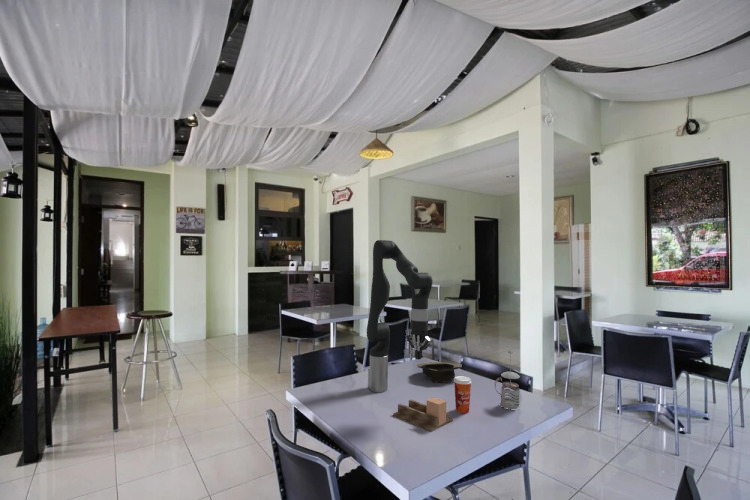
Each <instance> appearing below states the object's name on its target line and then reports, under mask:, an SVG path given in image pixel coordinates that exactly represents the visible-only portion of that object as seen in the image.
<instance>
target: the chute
mask: <svg viewBox="0 0 750 500" xmlns="http://www.w3.org/2000/svg"><path fill="white" fill-rule="evenodd" d="M392 414H393V415H392V416H393V417H396V418H398V419H400V420H402V421H405V422H408V423H410V424H413V425H415V426H417V427H420V428H422V429H424V430H426V431H429V432H434V431H436V430H437V429H440V428H442V427H444V426H445V425H448V424H450V423H452V422H453V420H454V419H453V418H451V417H449V412H447V411H446V422H444V423H442V424H440V425H438V418H437V417H434V416H431V415H429V414H427V404H425V403H421V402H419V401H416V400H414V399H408V406H407V405H405V404H402V403H398V404H397V411H396V412H394V413H392Z"/></svg>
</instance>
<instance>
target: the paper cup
mask: <svg viewBox="0 0 750 500" xmlns="http://www.w3.org/2000/svg"><path fill="white" fill-rule="evenodd" d="M453 382H454V398H455V399H454V400H455V411H456V413H459V414H468V413H469V412H470V407H471V406H470V405H471V404H470V403H471V389H472V388H471V387H472V379H471V378H470V377H468V376H463V375H460V376H459V375H458V376H455V377H454V379H453Z"/></svg>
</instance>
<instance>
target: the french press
mask: <svg viewBox="0 0 750 500" xmlns="http://www.w3.org/2000/svg"><path fill="white" fill-rule="evenodd" d="M507 353H508V354H509V371H504V372H502V373H501V374H500V375H501V377H497V378H496V379H495V382H494V389H495V391H496V393H497V394H499V395H500V403H499V404H500V406H502V407H504V408H508V409H517V408H520V406H521V405H520V389H521V388H519V384H518V383H516V382H512V380H519V379H520V377H521V376H520V375H519V374H518V373H516V372H513V371H511V370H512V369H511V367H512V366H511V362H512V361H511V360H512V359H511V356H512V355H511V354H513V350H510V349H509V350H508V352H507ZM502 378H504V379H509V381H504V382H503V379H502ZM498 381H501V382H502V384H501V385H502V386H501V392H500V391H498V390H497V387H496V386H497V383H498ZM500 406H499V407H500Z"/></svg>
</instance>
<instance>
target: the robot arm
mask: <svg viewBox="0 0 750 500" xmlns="http://www.w3.org/2000/svg"><path fill="white" fill-rule="evenodd" d="M386 259H387V260H393V261H395V267H396V269H397V271H398V272H399V273H400V274H401V275H402V277H404V278H405V281H406V282H407V285H408V286H409V288H411V289H413V290H419V291H418V293H416V294H413V295H412V297H411V309H410V311H411V312H410V334H408V335H406V339H407V341H408V344H409V345H410V347H411V349H414V357H415V360H422V358H423V351H425V350H427V348H428V347H429V346H430V345H431V344H432V343H433V340H432V339H430V338H429V335H428V330H429V297H430V295H431V290H432V288H433V287H432V286H433V277H432V275H431V274H430V273H429V272H419V269H418V267H417V266H416V265H415V264H414V263H413V262H411V261H410V260H409V259H408V258H407V257H406V256H405V254H404V252H402V250H401V249H400V248H399V246H398V245H397V244H396V243H395V242H394V241H393V240H387V239H386V240H383V239H382V240H381V239H379V240H378V239H377V240H376V241H375V242H374V244H373V247H372V281H371V289H370V303H369V304H370V306H369V313H368V319H367V325H366V338H367V340H368V342H369V343H376V344H375V346H373V347H371V348H370V349H369V368H368V370H367V373H368V374H367V389H369V391H371V392H374V393H384V392H386V391H388V387H389V386H388V385H389V384H388V383H389V381H388V379H389V376H388V375H389V351H390V340H391V330H390V326H389V324H388V323H387V322H379V319H380V315H381V313H382V312H383V310H384V308H385V307H386V306H387V304H388V301H389V299H390V293H391V292H390V291H391V284H390V281H389V280H388V276H387V275H386V273H385V271H384V267H383V266H384V262H383V261H384V260H386Z"/></svg>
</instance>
